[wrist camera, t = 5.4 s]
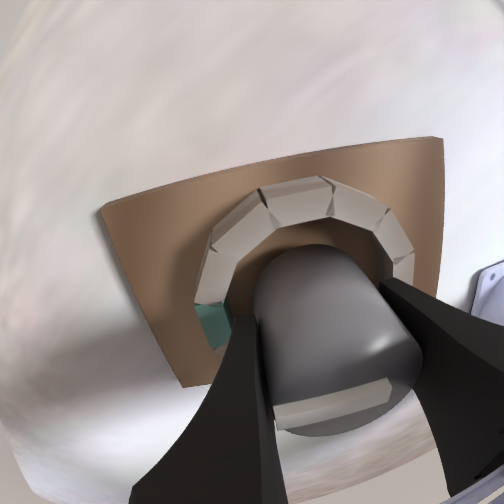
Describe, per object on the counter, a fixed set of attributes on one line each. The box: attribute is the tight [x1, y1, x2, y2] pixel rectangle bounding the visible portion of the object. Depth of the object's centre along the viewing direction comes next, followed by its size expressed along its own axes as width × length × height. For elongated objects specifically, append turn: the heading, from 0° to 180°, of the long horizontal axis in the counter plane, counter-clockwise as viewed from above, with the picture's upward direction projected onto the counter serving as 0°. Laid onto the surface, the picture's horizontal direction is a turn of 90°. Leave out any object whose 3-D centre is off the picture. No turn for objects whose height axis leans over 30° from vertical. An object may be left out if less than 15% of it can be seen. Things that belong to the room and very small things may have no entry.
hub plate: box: [100, 136, 445, 388], centre depth 12 cm, size 14×10×2 cm
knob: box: [252, 244, 423, 437], centre depth 10 cm, size 4×4×5 cm
